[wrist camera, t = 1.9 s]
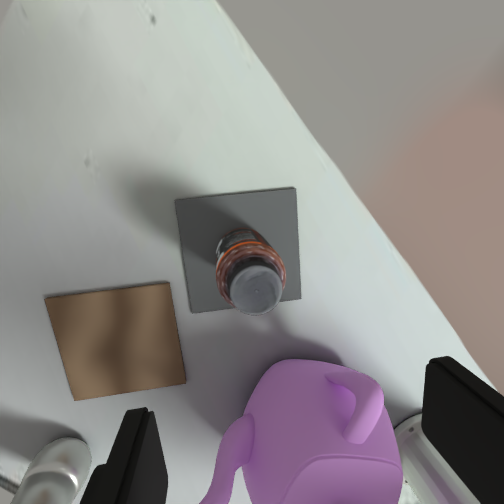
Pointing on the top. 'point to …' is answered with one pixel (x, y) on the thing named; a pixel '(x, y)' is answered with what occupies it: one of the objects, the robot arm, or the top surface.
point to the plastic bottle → (55, 473)
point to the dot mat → (225, 220)
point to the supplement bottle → (249, 272)
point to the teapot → (311, 440)
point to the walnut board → (118, 340)
